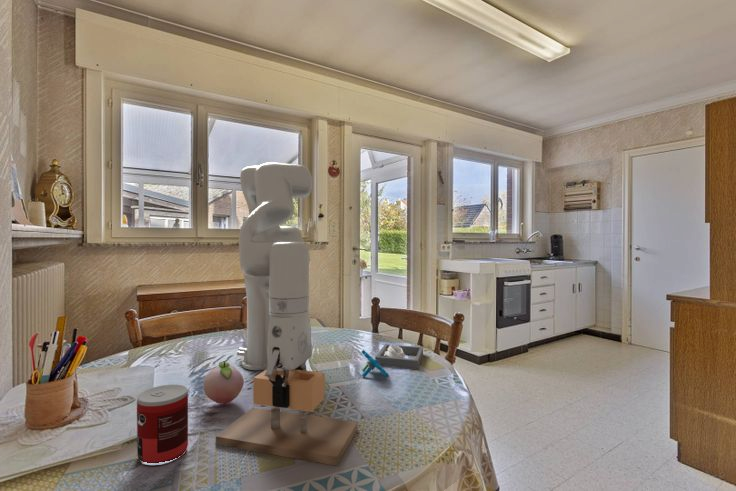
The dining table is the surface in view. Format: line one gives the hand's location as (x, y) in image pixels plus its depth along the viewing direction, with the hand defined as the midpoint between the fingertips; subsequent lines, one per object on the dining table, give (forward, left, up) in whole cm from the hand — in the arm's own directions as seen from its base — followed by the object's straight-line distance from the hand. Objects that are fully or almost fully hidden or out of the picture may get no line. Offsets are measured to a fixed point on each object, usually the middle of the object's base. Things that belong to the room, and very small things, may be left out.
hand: (289, 397), depth 69 cm
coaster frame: (+13, +50, -8) cm, 52 cm away
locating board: (0, 0, -8) cm, 8 cm away
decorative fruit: (-21, +8, -8) cm, 24 cm away
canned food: (-19, -11, -8) cm, 23 cm away
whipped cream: (+11, +50, -8) cm, 52 cm away
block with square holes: (0, 0, -1) cm, 1 cm away
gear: (+8, +35, -8) cm, 37 cm away
